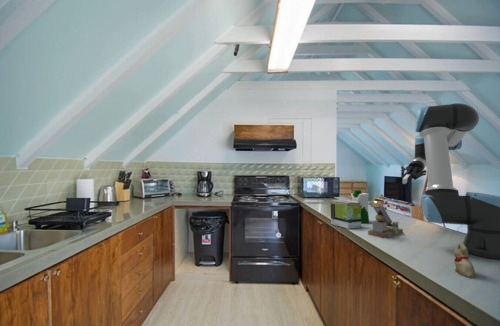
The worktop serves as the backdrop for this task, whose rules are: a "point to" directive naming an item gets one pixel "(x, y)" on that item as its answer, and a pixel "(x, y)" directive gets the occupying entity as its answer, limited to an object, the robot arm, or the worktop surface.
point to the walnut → (379, 217)
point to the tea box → (346, 213)
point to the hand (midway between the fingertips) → (404, 181)
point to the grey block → (380, 226)
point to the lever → (381, 211)
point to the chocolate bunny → (463, 261)
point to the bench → (388, 231)
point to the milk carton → (362, 204)
